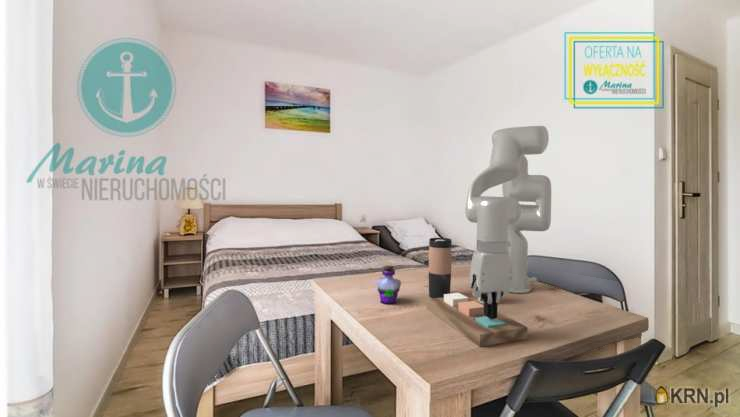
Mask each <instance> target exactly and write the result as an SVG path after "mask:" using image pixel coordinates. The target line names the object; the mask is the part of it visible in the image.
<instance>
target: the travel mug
mask: <svg viewBox="0 0 740 417" xmlns="http://www.w3.org/2000/svg"><path fill="white" fill-rule="evenodd" d="M428 240H429V241H428V242H429V244H428V296H429V297H430V299H433V298H442V297H444V294H451V283H452V282H451V279H452V239H451V238H449V237H448V238H447V237H430V238H429V239H428Z"/></svg>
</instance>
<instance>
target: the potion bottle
mask: <svg viewBox="0 0 740 417" xmlns="http://www.w3.org/2000/svg"><path fill="white" fill-rule="evenodd" d="M381 274H382V275H383V277H382V278H379V279H375V280H376V281H375V282H376V287H377V292H378V293H379V299H380V304H383V305H388V306H389V305H391V306H393V305H395V304H397V300H398V295H399V292H400V289H401V285H402V282H401V280H400V279H397V278H394V277H393V276H394V275H396V271H395V269H394V265H384V266H383V268H382V273H381Z"/></svg>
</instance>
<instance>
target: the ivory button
mask: <svg viewBox="0 0 740 417" xmlns="http://www.w3.org/2000/svg"><path fill="white" fill-rule="evenodd" d="M464 295H465V294H462V293H461V292H453V293H451V292H450V294H444V302H445V303H447V304H449V305H450V306H452V307H456V306H458V303H460V302H468V297H469V296H468V297H466V296H467V295H466V296H464Z"/></svg>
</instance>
